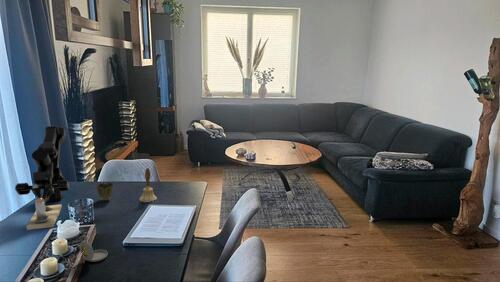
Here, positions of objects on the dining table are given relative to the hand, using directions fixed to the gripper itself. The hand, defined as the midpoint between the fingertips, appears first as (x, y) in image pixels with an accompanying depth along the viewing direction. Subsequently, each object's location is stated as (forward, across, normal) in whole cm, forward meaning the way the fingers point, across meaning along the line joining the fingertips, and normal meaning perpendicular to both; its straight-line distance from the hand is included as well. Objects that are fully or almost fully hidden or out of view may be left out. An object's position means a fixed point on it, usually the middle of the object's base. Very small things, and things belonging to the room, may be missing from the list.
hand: (41, 206), depth 135 cm
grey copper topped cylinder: (+5, 0, +3) cm, 6 cm away
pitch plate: (+2, 0, +8) cm, 8 cm away
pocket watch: (+30, +22, -20) cm, 42 cm away
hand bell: (-4, +42, +15) cm, 45 cm away
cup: (-8, +23, +18) cm, 30 cm away
